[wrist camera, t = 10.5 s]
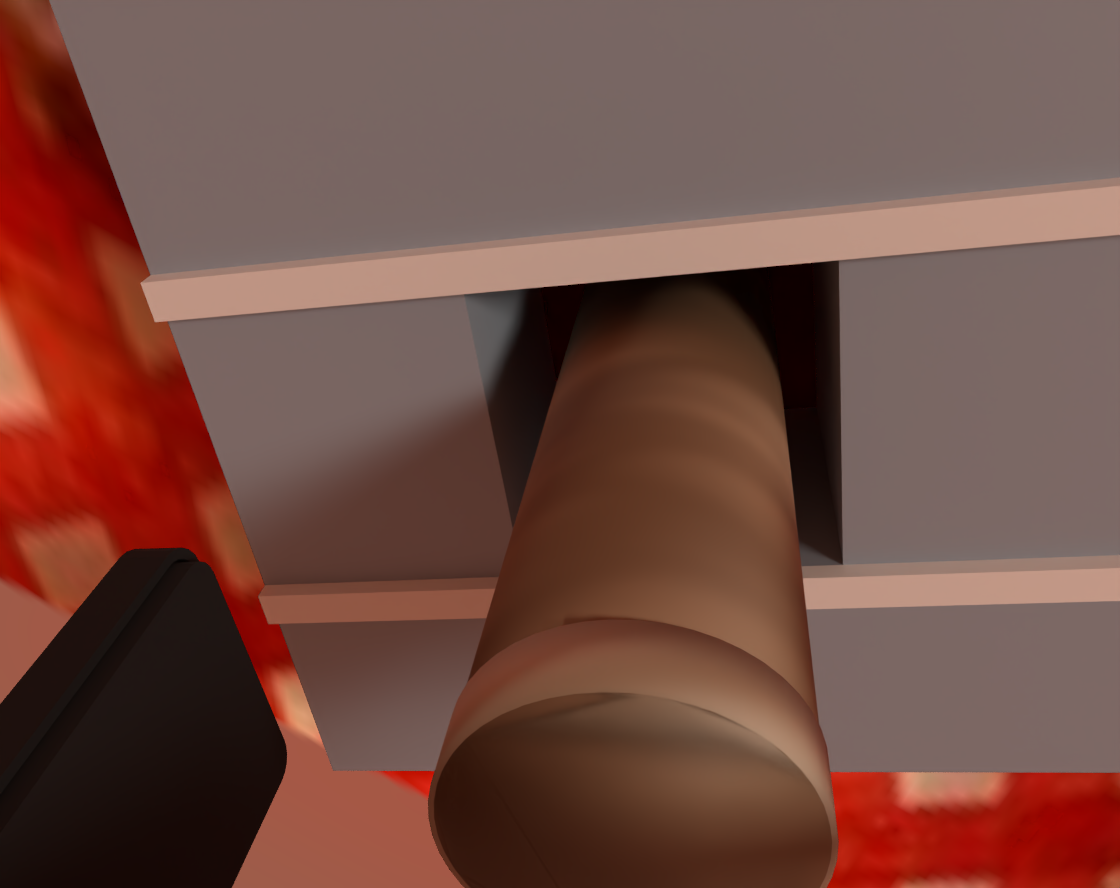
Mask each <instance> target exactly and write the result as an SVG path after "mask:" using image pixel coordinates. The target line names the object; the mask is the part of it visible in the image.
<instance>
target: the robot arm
mask: <svg viewBox="0 0 1120 888" xmlns="http://www.w3.org/2000/svg"><path fill="white" fill-rule="evenodd" d="M286 763H287V750H286V744H285V741H284V738H283V736H282V733H281V731H280V729H279V726H278V724H277V721H276V719H275V717H274V714H273V712H272V710H271V707H270V705H269V702H268V700H267V698H266V695H265V693H264V691H263V688H262V686H261V684H260V681H259V679H258V676H257V674H256V672H255V669H254V667H253V665H252V662H251V660H250V657H249V655H248V653H247V650H246V648H245V646H244V643H243V641H242V638H241V636H240V634H239V631H238V629H237V627H236V624H235V622H234V619H233V617H232V615H231V612H230V610H229V608H228V605H227V603H226V601H225V598H224V596H223V593H222V591H221V589H220V586H219V584H218V582H217V579H216V577H215V574H214V572H213V571H212V569H211V567H210V566H209V565H208V564H206V563H205V562H200V561H199V560H198V559H197V557H196V555H195V554H194V553H192V552H191V551H190V550H189V549H185V548H155V549H134V550H130V551H127V552H126V553H125V554H124V555H122V556H121V557H120V558H119V559H118V561H117V562H116V563H115V564H114V565H113V567H112V568H111V569H110V570H109V572H108V573H107V574H106V575H105V576H104V578H103V579H102V580H101V581H100V583H99V584H98V585H97V586H96V587H95V589H94V590H93V591H92V592H91V594H90V595H89V596H88V597H87V599H86V600H85V601H84V602H83V603H82V605H81V606H80V607H79V608H78V610H77V611H76V612H75V613H74V614H73V616H72V617H71V618H70V619H69V621H68V622H67V623H66V625H65V626H64V627H63V628H62V629H61V630H60V632H59V633H58V634H57V635H56V637H55V638H54V639H53V640H52V641H51V643H50V644H49V645H48V646H47V648H46V649H45V650H44V651H43V653H42V654H41V655H40V656H39V657H38V659H37V660H36V661H35V662H34V664H33V665H32V666H31V667H30V668H29V670H28V671H27V672H26V674H25V675H24V676H23V677H22V678H21V679H20V681H19V682H18V683H17V684H16V686H15V687H14V688H13V689H12V691H11V692H10V693H9V694H8V695H7V697H6V698H5V699H4V700H3V702H2V703H1V704H0V888H232V886H233V884H234V881H235V879H236V877H237V875H238V873H239V871H240V868H241V867H242V864H243V862H244V860H245V858H246V856H247V854H248V852H249V850H250V848H251V845H252V843H253V841H254V839H255V837H256V834H257V833H258V830H259V828H260V826H261V824H262V822H263V820H264V817H265V815H266V813H267V811H268V809H269V807H270V805H271V803H272V801H273V798H274V796H275V794H276V792H277V790H278V788H279V785H280V783H281V781H282V779H283V776H284V773H285V769H286Z"/></svg>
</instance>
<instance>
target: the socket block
mask: <svg viewBox="0 0 1120 888" xmlns="http://www.w3.org/2000/svg"><path fill="white" fill-rule="evenodd" d="M49 1H50V4H51V6H52V9H53V12H54V15H55V17H56V20H57V23H58V25H59V28H60V31H61V34H62V36H63V39H64V42H65V44H66V47H67V50H68V53H69V55H70V58H71V61H72V63H73V66H74V69H75V71H76V74H77V77H78V80H79V82H80V85H81V88H82V90H83V93H84V96H85V99H86V101H87V104H88V107H89V109H90V112H91V115H92V118H93V120H94V123H95V126H96V128H97V131H98V134H99V137H100V139H101V142H102V145H103V147H104V150H105V153H106V156H107V158H108V161H109V164H110V166H111V169H112V172H113V175H114V177H115V180H116V183H117V185H118V188H119V191H120V194H121V196H122V199H123V202H124V204H125V207H126V210H127V213H128V215H129V218H130V221H131V223H132V226H133V229H134V232H135V234H136V237H137V240H138V242H139V245H140V248H141V251H142V253H143V256H144V259H145V261H146V264H147V267H148V270H149V272H150V276H149V277H147V278H146V279H145V280H144V281H142V282H141V283H140V284H141V286H142V289H143V291H144V294H145V297H146V299H147V302H148V305H149V307H150V310H151V313H152V315H153V318H154V321H155V322H164V321H168V324H169V327H170V329H171V332H172V335H173V337H174V340H175V343H176V346H177V348H178V351H179V354H180V356H181V359H182V362H183V364H184V367H185V370H186V373H187V375H188V378H189V381H190V383H191V386H192V389H193V392H194V394H195V397H196V400H197V402H198V405H199V408H200V411H201V413H202V416H203V419H204V421H205V424H206V427H207V430H208V432H209V435H210V438H211V440H212V443H213V446H214V449H215V451H216V454H217V457H218V459H219V462H220V465H221V468H222V470H223V473H224V476H225V478H226V481H227V484H228V487H229V489H230V492H231V495H232V497H233V500H234V503H235V506H236V508H237V511H238V514H239V516H240V519H241V522H242V525H243V527H244V530H245V533H246V535H247V538H248V541H249V544H250V546H251V549H252V552H253V554H254V557H255V560H256V563H257V565H258V568H259V571H260V573H261V576H262V579H263V582H264V584H265V586H264V587H263V589H262V591H261V592H260V594H259V596H258V598H259V600H260V603H261V606H262V608H263V611H264V614H265V616H266V619H267V622H268V624H279V625H280V628H281V630H282V633H283V636H284V639H285V641H286V644H287V647H288V649H289V652H290V655H291V657H292V660H293V663H294V666H295V668H296V671H297V674H298V676H299V679H300V682H301V685H302V687H303V690H304V693H305V695H306V698H307V701H308V704H309V706H310V709H311V712H312V714H313V717H314V720H315V723H316V725H317V728H318V731H319V733H320V736H321V739H322V742H323V744H324V747H325V750H326V752H327V755H328V758H329V761H330V763H331V766H332V769H333V770H334V771H356V770H357V771H435V769H436V765H437V762H438V759H439V755H440V752H441V749H442V746H443V742H444V739H445V736H446V733H447V729H448V726H449V723H450V719H451V716H452V713H453V710H454V708H455V705H456V702H457V700H458V697H459V696H460V694H461V692H462V691H463V689H464V687H465V686H466V684H467V682H468V678H469V675H470V671H471V668H472V665H473V661H474V658H475V655H476V651H477V648H478V645H479V641H480V638H481V635H482V631H483V628H484V625H485V621H486V618H487V614H488V611H489V608H490V604H491V601H492V598H493V594H494V591H495V588H496V584H497V581H498V578H499V574H500V571H501V568H502V564H503V561H504V557H505V554H506V551H507V547H508V544H509V541H510V537H511V534H512V531H513V527H514V524H515V521H516V517H517V514H518V511H519V507H520V504H521V501H522V497H523V494H524V490H525V487H526V484H527V480H528V477H529V474H530V470H531V467H532V464H533V460H534V457H535V454H536V450H537V447H538V444H539V440H540V437H541V433H542V430H543V427H544V423H545V420H546V417H547V413H548V410H549V407H550V403H551V400H552V397H553V393H554V390H555V387H556V383H557V381H556V375H555V369H554V363H553V358H552V352H551V346H550V340H549V334H548V328H547V322H546V316H545V310H544V304H543V298H542V292H541V287H549V286H560V285H571V284H583V283H594V282H605V281H616V280H627V279H638V278H649V277H660V276H671V275H682V274H693V273H704V272H715V271H726V270H737V269H748V268H759V267H770V266H781V265H792V264H803V263H813V291H814V329H815V367H816V405H817V407H809V408H794V409H784V415H785V424H786V433H787V442H788V451H789V460H790V469H791V478H792V487H793V495H794V504H795V513H796V522H797V531H798V540H799V549H800V558H801V567H802V576H803V585H804V594H805V603H806V612H807V621H808V630H809V638H810V647H811V656H812V665H813V674H814V683H815V692H816V701H817V710H818V719H819V725H820V727H821V729H822V732H823V735H824V739H825V742H826V745H827V749H828V757H829V766H830V772H1072V773H1120V0H49Z"/></svg>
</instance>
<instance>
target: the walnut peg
mask: <svg viewBox="0 0 1120 888" xmlns="http://www.w3.org/2000/svg"><path fill="white" fill-rule="evenodd" d="M428 814H429V822H430V827H431V831H432V836H433V838H434V841H435V843H436V846H437V848H438V851H439V853H440V855H441V856H442V858H443V860H444V861H445V863H446V865H447V866H448V868H449V870H450V871H451V872H452V873H453V875H454V876H455V877H456V878H457V880H458V881H459V882H460V883H461V885H463V886H464V887H465V888H826V887H827V886H828V884H829V882H830V880H831V878H832V875H833V872H834V868H835V865H836V861H837V854H838V833H837V825H836V816H835V808H834V799H833V791H832V783H831V774H830V766H829V757H828V749H827V745H826V742H825V739H824V735H823V732H822V729H821V727H820V725H819V719H818V710H817V701H816V692H815V683H814V674H813V665H812V656H811V647H810V638H809V630H808V621H807V612H806V603H805V594H804V585H803V576H802V567H801V558H800V549H799V540H798V531H797V522H796V513H795V504H794V495H793V487H792V478H791V469H790V460H789V451H788V442H787V433H786V424H785V415H784V406H783V397H782V388H781V379H780V370H779V361H778V353H777V344H776V335H775V326H774V317H773V308H772V299H771V290H770V282H769V276H768V272H767V268H766V267H759V268H748V269H737V270H726V271H715V272H704V273H693V274H682V275H671V276H660V277H649V278H638V279H627V280H616V281H605V282H594V283H586V286H585V289H584V293H583V296H582V299H581V303H580V306H579V309H578V313H577V316H576V320H575V323H574V326H573V330H572V333H571V336H570V340H569V343H568V346H567V350H566V353H565V356H564V360H563V363H562V366H561V370H560V373H559V376H558V380H557V383H556V387H555V390H554V393H553V397H552V400H551V403H550V407H549V410H548V413H547V417H546V420H545V423H544V427H543V430H542V433H541V437H540V440H539V444H538V447H537V450H536V454H535V457H534V460H533V464H532V467H531V470H530V474H529V477H528V480H527V484H526V487H525V490H524V494H523V497H522V501H521V504H520V507H519V511H518V514H517V517H516V521H515V524H514V527H513V531H512V534H511V537H510V541H509V544H508V547H507V551H506V554H505V557H504V561H503V564H502V568H501V571H500V574H499V578H498V581H497V584H496V588H495V591H494V594H493V598H492V601H491V604H490V608H489V611H488V614H487V618H486V621H485V625H484V628H483V631H482V635H481V638H480V641H479V645H478V648H477V651H476V655H475V658H474V661H473V665H472V668H471V671H470V675H469V678H468V682H467V684H466V686H465V687H464V689H463V691H462V692H461V694H460V696H459V697H458V700H457V702H456V705H455V708H454V710H453V713H452V716H451V719H450V723H449V726H448V729H447V733H446V736H445V739H444V742H443V746H442V749H441V752H440V755H439V759H438V762H437V765H436V769H435V772H434V775H433V778H432V782H431V786H430V792H429V798H428Z"/></svg>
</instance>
